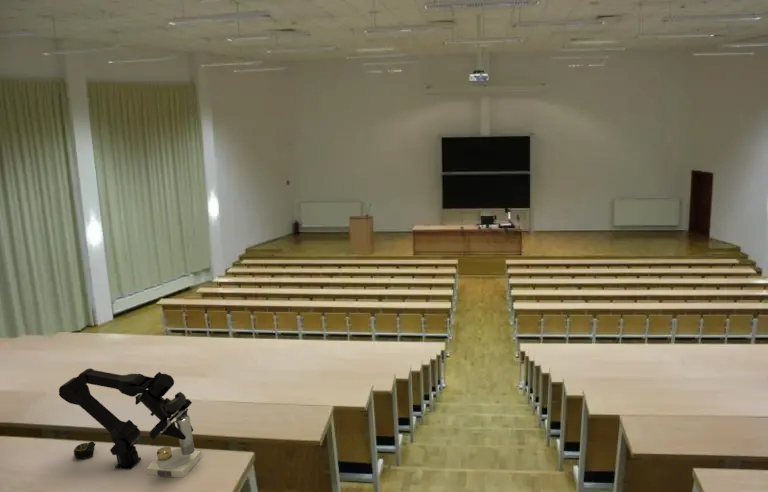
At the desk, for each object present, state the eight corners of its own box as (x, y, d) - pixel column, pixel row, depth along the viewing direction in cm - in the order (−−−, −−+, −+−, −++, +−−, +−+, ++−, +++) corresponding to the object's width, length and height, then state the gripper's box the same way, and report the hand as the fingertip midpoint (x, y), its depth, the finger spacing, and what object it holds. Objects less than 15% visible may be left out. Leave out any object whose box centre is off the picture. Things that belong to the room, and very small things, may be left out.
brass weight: (155, 460, 209) (153, 454, 208) (163, 452, 213) (161, 446, 213) (166, 461, 207) (165, 455, 207) (174, 453, 212) (173, 447, 211)
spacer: (178, 454, 206) (173, 421, 202) (185, 447, 210) (180, 414, 206) (190, 455, 204) (185, 422, 201) (196, 448, 209) (192, 415, 205)
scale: (146, 475, 206) (145, 467, 205) (167, 454, 218) (166, 446, 217) (182, 478, 202) (180, 470, 202) (201, 457, 214) (200, 449, 213)
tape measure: (93, 458, 219) (91, 449, 219) (73, 462, 218) (71, 453, 217) (96, 448, 226) (94, 439, 225) (76, 452, 224) (74, 444, 223)
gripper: (152, 403, 194) (186, 437, 194) (183, 377, 211) (215, 408, 211) (134, 423, 197) (168, 455, 197) (167, 396, 215) (198, 425, 215)
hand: (188, 435), depth 205 cm, fingers closed on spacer, 4 cm apart
